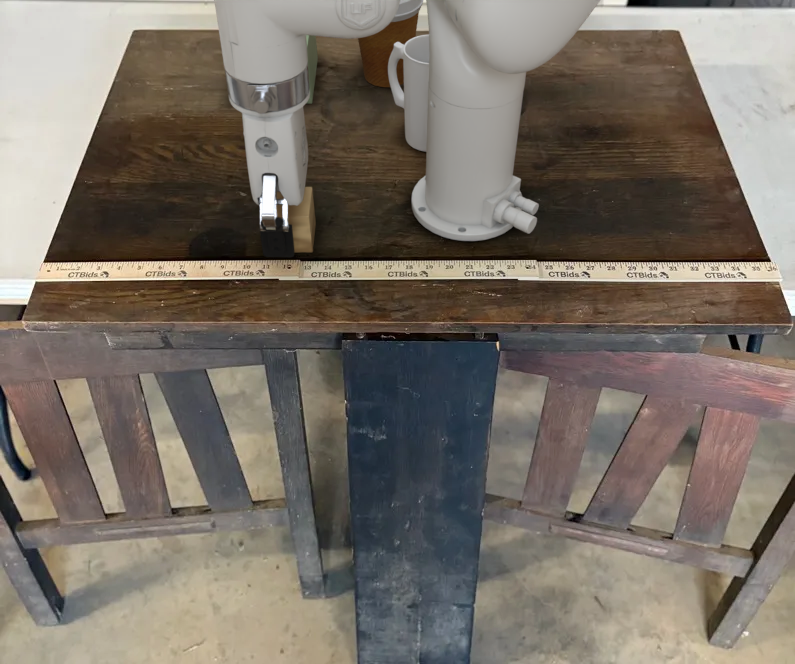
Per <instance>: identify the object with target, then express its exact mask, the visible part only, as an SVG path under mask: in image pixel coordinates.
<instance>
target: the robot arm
mask: <svg viewBox="0 0 795 664" xmlns="http://www.w3.org/2000/svg"><path fill="white" fill-rule="evenodd" d="M213 2H214V8H215V15H216V20H217V27H218V28H217V29H218V35H219V40H220V41H219V42H220V48H221V54H222V55H221V56H222V61H223V69H224V75H225V81H226V88H227V94H228V95H227V96H228V101H229V103H230V105H231V106H232V107H233V108H234V109H235V111H238V112H240V113H241V117H242V119H241V120H242V128H243V129H242V130H243V132H242V134H243V139H244V148H245V149H244V151H245V157H246V166H247V172H248V173H247V174H248V181H249V186H250V192H251V193H250V194H251V197H252V201H253V202H254V203H255V204H256V205H257V206H259V227H258V229H259V235H260V241H261V249H262V255H263V256H264V257H266V258H293V257H295V253H296V252H295V250H294V240H293V229H292V224H289V205H296V206H298V205H299V204H300V203H301V202H302V201H303V197H304V190H305V187H306V181H307V173H308V164H309V145H308V137H307V136H308V135H307V130H306V129H307V127H306V119H305V118H306V117H305V110H304V106H305V105H306V103H307V102H308V100H309V97H310V89H309V88H310V87H309V72H308V56H307V41H306V35H312V36H316V37H325V38H333V39H334V38H335V39H346V40H347V39H351V40H353V39H358V38H363V37H368V36H371V35H374V34H376V33H378V32H380V31H381V30H383V29H384V28H385V27H386V26H388V25H389V24H390V22H391V21H392V20H393V18H394V17H395V15H396V13H397V10H398V7H399V3H400V0H213ZM600 2H601V0H425V3H426V11H427V21H428V22H427V23H428V25H427V26H428V34H429V82H428V115H427V150H426V152H425V153H426V154H425V155H426V156H425V175H423V177H422V178H420V179H419V180H418V181H417V182H416V184H415V185H414V187H413V189H412V193H411V202H410V203H411V211H412V213H413V216H414V217H415V219H416V220H417V222H418V223H419V224H421V225H422V227H423V228H425V229H427V230H428V231H430V232H431V233H433V234H435V235H437V236H440V237H443V238H445V239H450V240H452V241H459V242H478V241H486V240H490V239H493V238H497V237H499V236H501V235H504V234H505V233H506V232H508V231H510V230H511V229H512V228H513V227H514V228H515V229H517V230H520V231H521V232H523V233H526V234H531V233H532V232H533V231H534V230H535V227H536V226H537V223H538V218H537V217H536V216H534V215H535V214H536V213H537V212H538V210H539V207H540V204H539V203H538V202H536V201H534V200H532V199H530V198H526V197H524V196H523V194H522V192H521V190H520V189H521V182H522V179H521V178H520V177H518V176H516V175H514V167H515V161H516V160H515V159H516V154H517V153H516V152H517V145H518V137H519V130H520V129H519V128H520V122H521V121H520V120H521V114H522V105H523V99H524V98H523V97H524V90H525V85H526V76H527V72H530V71H533V70H535V69H537V68H540V67H541V66H543V65H545V64H546V63H547V62H549V61H550V60H552V59H553V58H554V57H555V56H556V55H557V54H558V53H559V52H561V51H562V50H563V48H565V47H566V45H567V44H568V43H569V42H570V41H571V39H572V38H573V37H574V36H575V35H576V33H578V31H579V30H580V28H582V26H583V24H585V22H586V21H587V19H588V18H589V16H590V15H591V14H592V12H593V11H595V8H596V7H597V6H598V4H599V3H600ZM277 192H281V194H282V196H283V197H284V199H277ZM276 205H282V219H281V218H280V217H277V213H276Z"/></svg>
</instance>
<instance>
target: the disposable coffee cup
mask: <svg viewBox="0 0 795 664" xmlns="http://www.w3.org/2000/svg"><path fill="white" fill-rule="evenodd" d="M423 4H424V0H400V3H399V7H398V10H397V13H396V15H395V17H394V18H393V20H392V21H391V22H390V24H389V25H388V26H386V27H385V28H384V29H383V30H381V31H380V32H378V33H376V34H374V35H371V36H368V37H363V38H357V41H358V47H359V52H360V59H361V63H362V69H363V75H364V79H365V80H366V82H368V83H369V84H371V85H373V86H374V87H375V86H376V87H381V88H391V86H390V82H389V77H388V62H389V58H390V55H391V53H392V51H393V48H394V44H395V43H396V42H400V43H401V44H404V45H405V43H406V42H407V41H408V40H410V39H412V38H414V37H417V28H418V21H419V16H420V15H419V14H420V11H421V8H422V6H423ZM396 73H397V79H398V83H399V85H400V86H401V85H404V67H403V59H399V61H398V63H397V67H396Z"/></svg>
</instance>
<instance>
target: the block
mask: <svg viewBox="0 0 795 664" xmlns="http://www.w3.org/2000/svg"><path fill="white" fill-rule="evenodd" d="M277 199H284V197H283V196H282V194H281V192H277ZM314 201H315V200H314V190H313V186H305V190H304V197H303V201H302V202H301V203H300V204H299V205H298V206H296V205H289V224H292V229H293V240H294V250H295V252H294V253H313V252H314V244H315V233H316V224H317V221H316V212H315V202H314ZM276 213H277V217H280V218H281V219H282V205H276Z"/></svg>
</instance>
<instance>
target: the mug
mask: <svg viewBox="0 0 795 664" xmlns="http://www.w3.org/2000/svg"><path fill="white" fill-rule="evenodd" d="M399 59H403V67H404V83H403V89H402V87H401V85H399V83H398V79H397V73H396V67H397V63H398V61H399ZM388 77H389V82H390V86H391V87H390V90H391V93H392V97H393V101H394V104H395V105H396V106H397V107H400V108H402V109H403V110H404V137H405V141H406V143H407V144H408V145H409V146H410V147H412V148H413V149H414V150H417V151H421V152H425V153H426V150H427V115H428V82H429V33H428V34H421V35H416V37H414V38H412V39H410V40H408V41H407V42H406V43H405V45H404V44H401V43H400V42H396V43H395V44H394V48H393V51H392V53H391V55H390V58H389V62H388Z"/></svg>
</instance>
